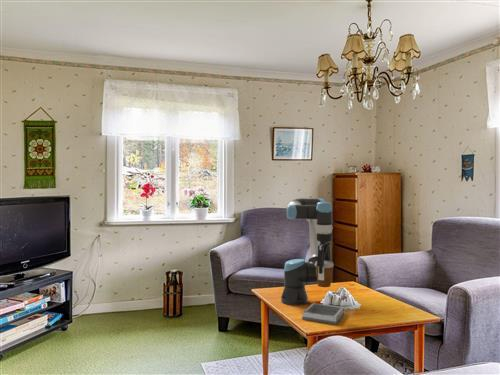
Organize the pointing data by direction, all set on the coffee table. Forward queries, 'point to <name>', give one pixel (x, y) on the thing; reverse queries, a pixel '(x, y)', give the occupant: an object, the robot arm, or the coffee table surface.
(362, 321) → the coffee table surface
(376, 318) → the coffee table surface
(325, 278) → the disposable coffee cup
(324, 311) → the tray
